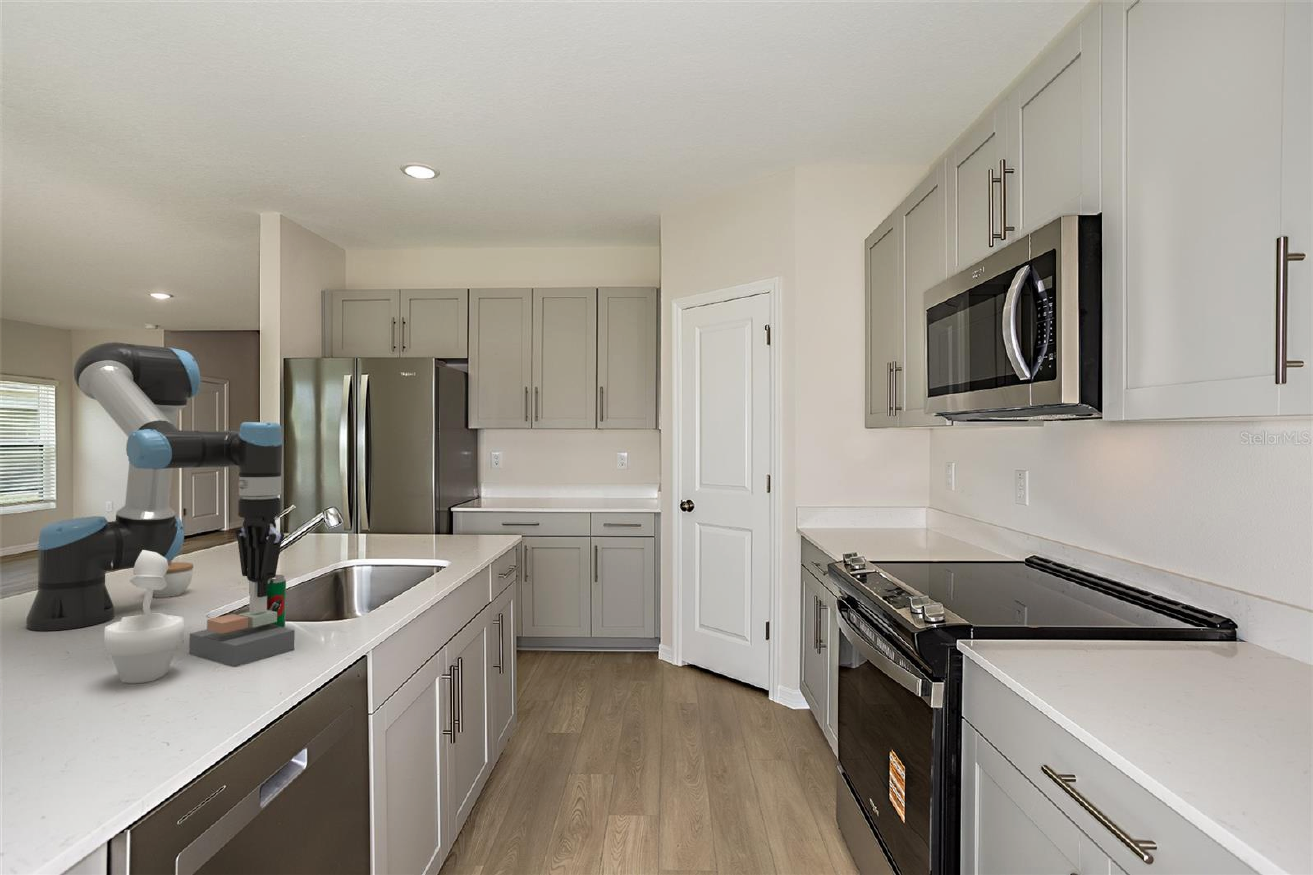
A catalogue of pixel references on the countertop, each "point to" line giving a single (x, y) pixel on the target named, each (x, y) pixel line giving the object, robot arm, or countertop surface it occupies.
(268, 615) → the sage key
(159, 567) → the white floating cup sculpture
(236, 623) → the rust key
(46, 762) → the countertop surface
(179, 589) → the lidded jar
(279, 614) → the soda can
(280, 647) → the button panel
